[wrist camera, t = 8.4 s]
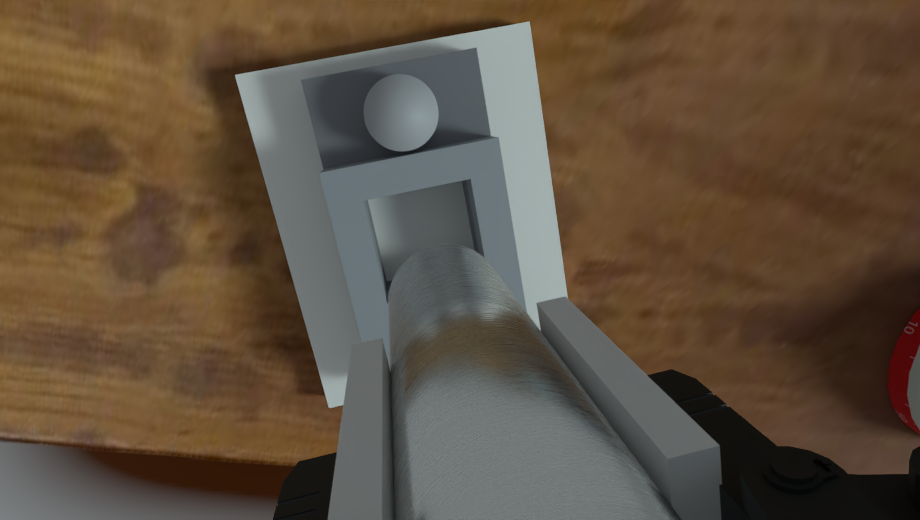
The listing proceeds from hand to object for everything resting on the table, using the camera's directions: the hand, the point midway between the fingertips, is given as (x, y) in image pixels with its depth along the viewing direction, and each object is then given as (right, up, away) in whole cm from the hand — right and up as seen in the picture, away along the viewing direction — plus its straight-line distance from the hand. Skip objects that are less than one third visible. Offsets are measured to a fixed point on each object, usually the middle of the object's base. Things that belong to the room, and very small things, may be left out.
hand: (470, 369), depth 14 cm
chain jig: (-3, +5, +19) cm, 20 cm away
